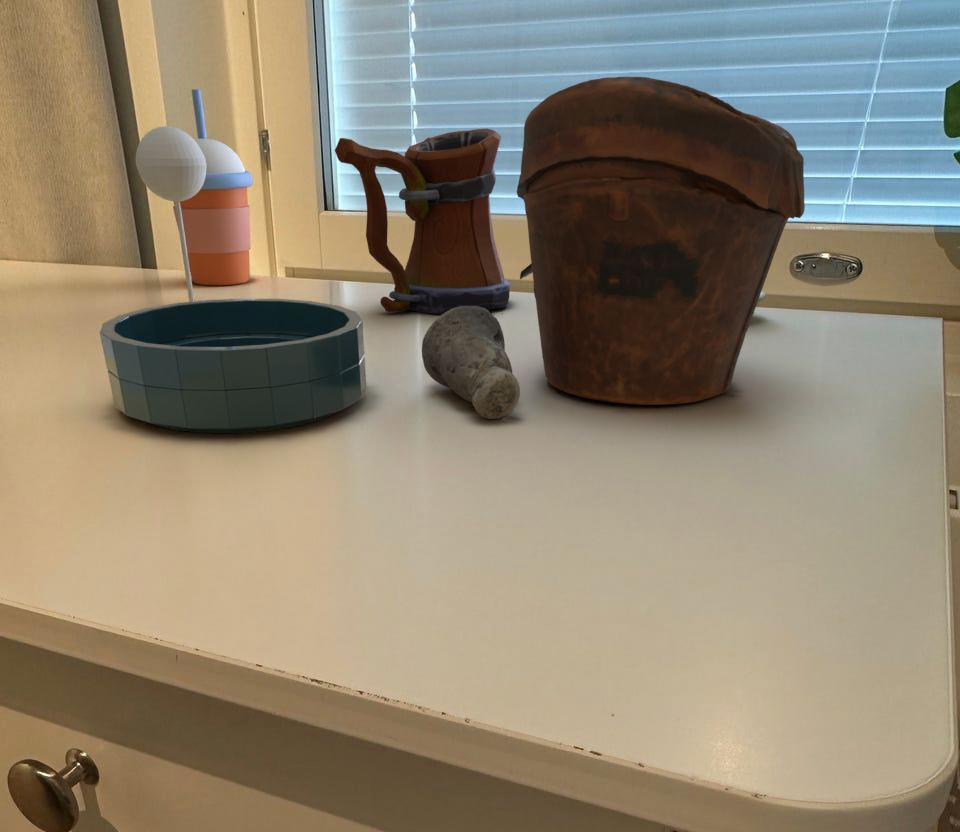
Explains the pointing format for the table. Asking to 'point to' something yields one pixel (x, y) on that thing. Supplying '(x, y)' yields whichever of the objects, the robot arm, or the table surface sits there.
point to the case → (650, 235)
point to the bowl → (235, 363)
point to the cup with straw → (217, 214)
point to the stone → (472, 360)
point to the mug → (437, 221)
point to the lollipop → (172, 173)
